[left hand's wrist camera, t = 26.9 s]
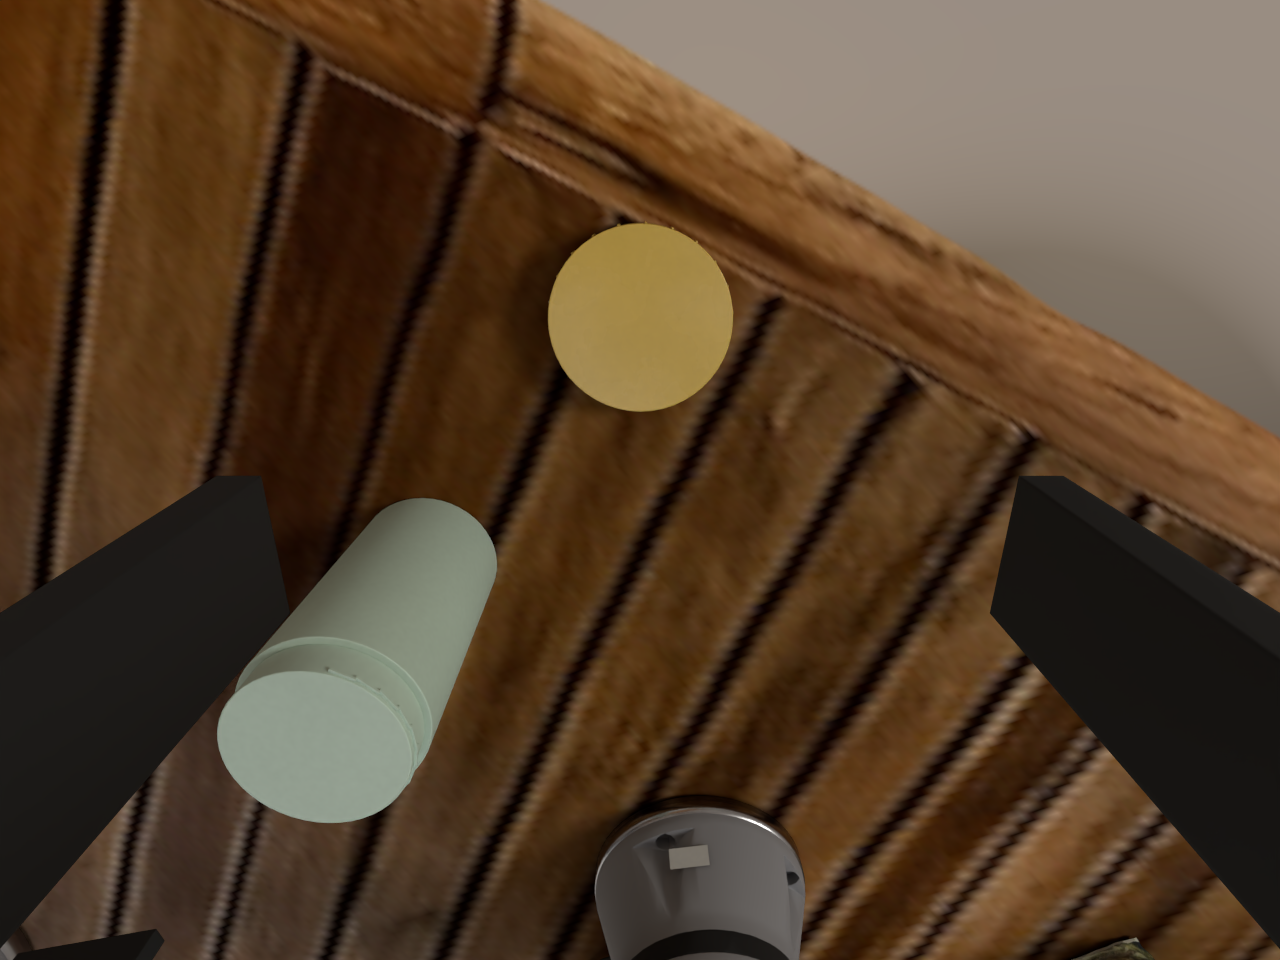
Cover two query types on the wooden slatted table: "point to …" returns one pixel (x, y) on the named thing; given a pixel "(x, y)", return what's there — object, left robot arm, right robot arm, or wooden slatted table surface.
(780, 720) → the wooden slatted table surface
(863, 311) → the wooden slatted table surface
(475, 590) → the jar
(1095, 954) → the fossil
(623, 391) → the lid
